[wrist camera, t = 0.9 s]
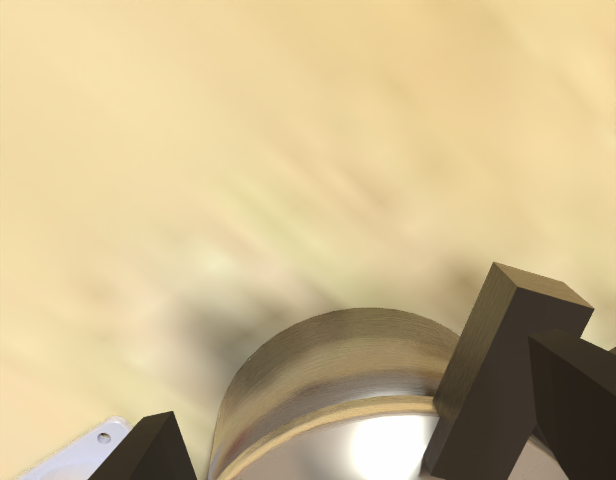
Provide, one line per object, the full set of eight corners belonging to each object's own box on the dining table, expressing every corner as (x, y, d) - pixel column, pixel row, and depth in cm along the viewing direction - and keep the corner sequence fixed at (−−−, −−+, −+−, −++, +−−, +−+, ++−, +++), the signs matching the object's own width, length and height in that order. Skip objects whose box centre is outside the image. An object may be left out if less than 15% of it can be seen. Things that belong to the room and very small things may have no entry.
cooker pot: (322, 592, 27) (333, 739, 21) (155, 412, 23) (115, 531, 18) (648, 411, 24) (759, 522, 19) (516, 181, 21) (603, 232, 15)
